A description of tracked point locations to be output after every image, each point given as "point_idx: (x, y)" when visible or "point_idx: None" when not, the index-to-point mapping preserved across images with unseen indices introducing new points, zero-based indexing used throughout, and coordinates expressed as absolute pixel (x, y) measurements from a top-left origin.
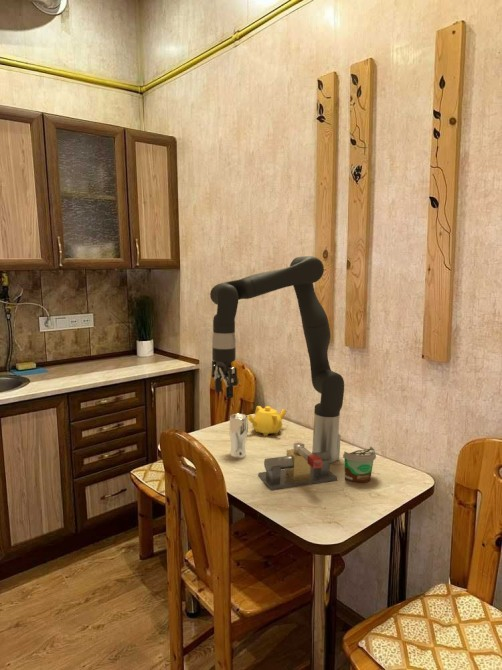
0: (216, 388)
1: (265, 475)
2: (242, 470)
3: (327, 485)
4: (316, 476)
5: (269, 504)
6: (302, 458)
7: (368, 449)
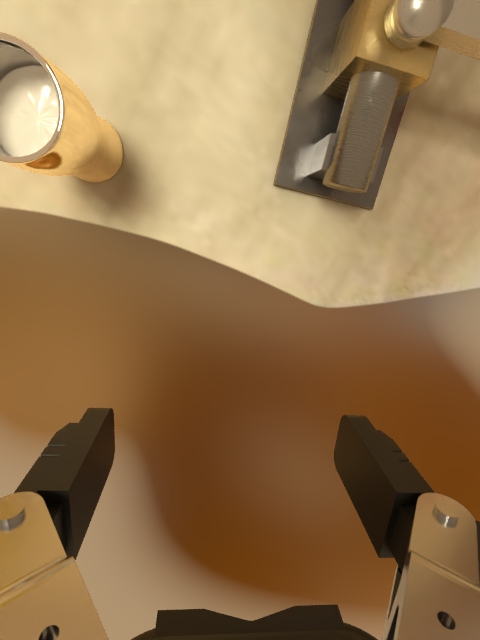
0: (103, 479)
1: (303, 174)
2: (216, 209)
3: None
4: None
5: (421, 259)
6: None
7: None
